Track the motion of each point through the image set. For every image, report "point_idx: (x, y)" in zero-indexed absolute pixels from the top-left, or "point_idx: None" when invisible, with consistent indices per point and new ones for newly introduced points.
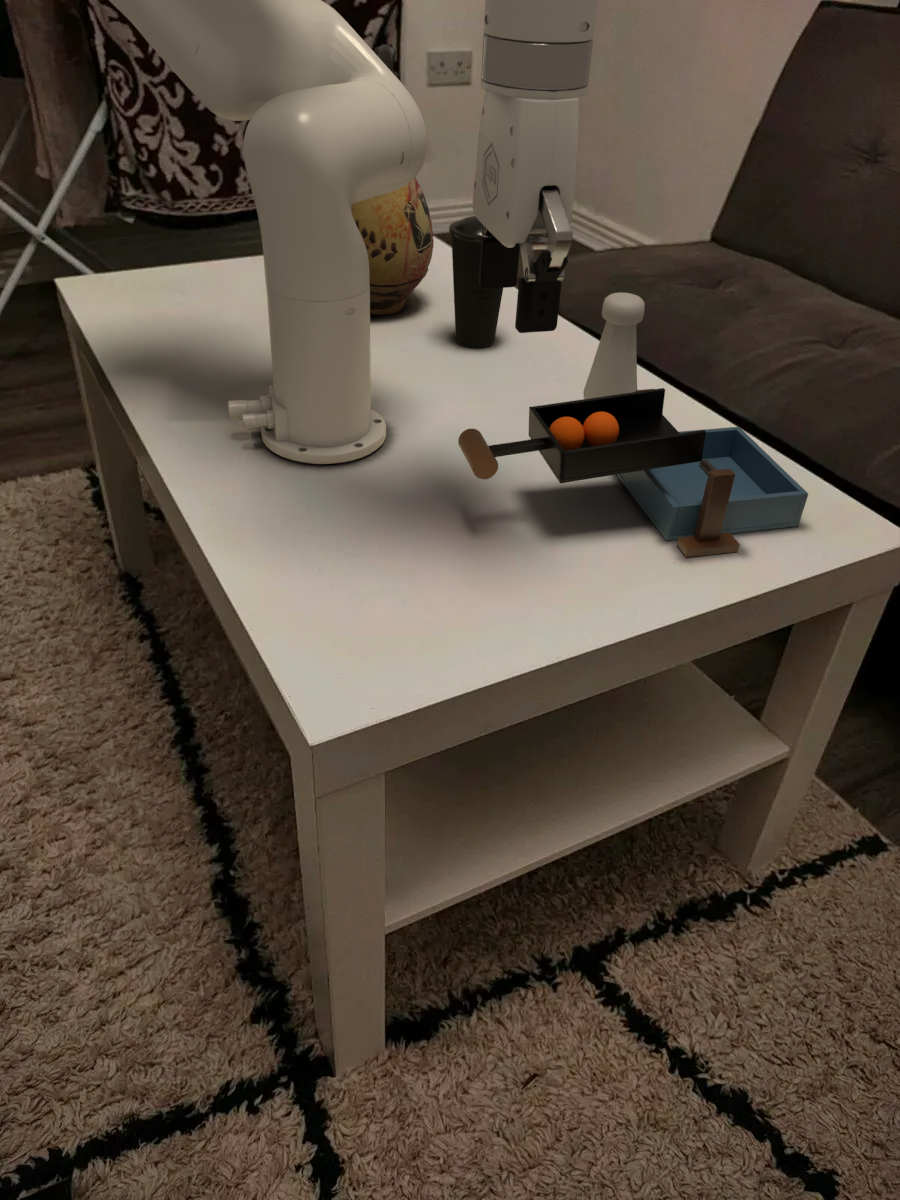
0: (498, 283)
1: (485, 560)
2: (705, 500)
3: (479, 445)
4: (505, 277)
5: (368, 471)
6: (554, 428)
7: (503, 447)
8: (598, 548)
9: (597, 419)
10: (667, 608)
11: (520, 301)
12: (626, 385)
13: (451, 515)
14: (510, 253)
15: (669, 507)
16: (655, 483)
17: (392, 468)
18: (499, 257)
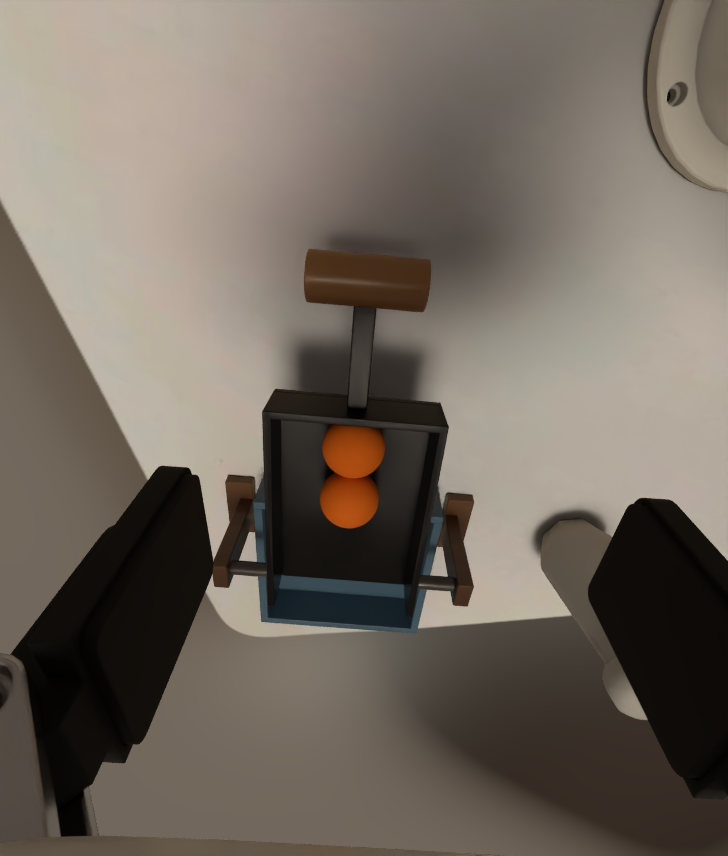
0: (615, 557)
1: (254, 231)
2: (230, 536)
3: (352, 283)
4: (615, 593)
5: (594, 102)
6: (349, 434)
7: (357, 333)
8: (261, 396)
9: (338, 504)
10: (132, 415)
11: (98, 551)
12: (556, 583)
13: (390, 222)
14: (663, 698)
15: (263, 499)
16: None
17: (580, 161)
18: (678, 651)
